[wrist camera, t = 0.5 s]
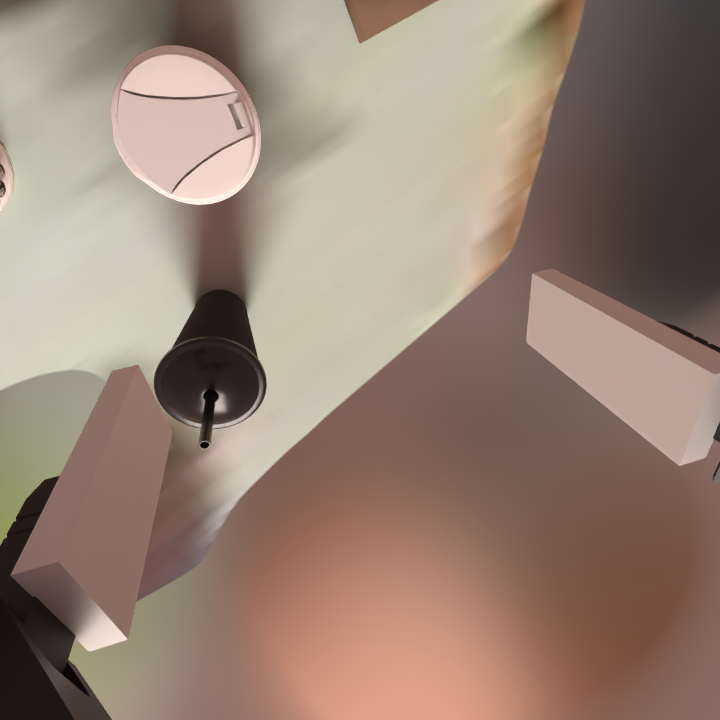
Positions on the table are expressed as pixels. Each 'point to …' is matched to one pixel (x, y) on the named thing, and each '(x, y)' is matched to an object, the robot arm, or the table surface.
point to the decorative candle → (5, 178)
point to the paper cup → (185, 125)
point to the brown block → (380, 14)
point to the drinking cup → (212, 368)
